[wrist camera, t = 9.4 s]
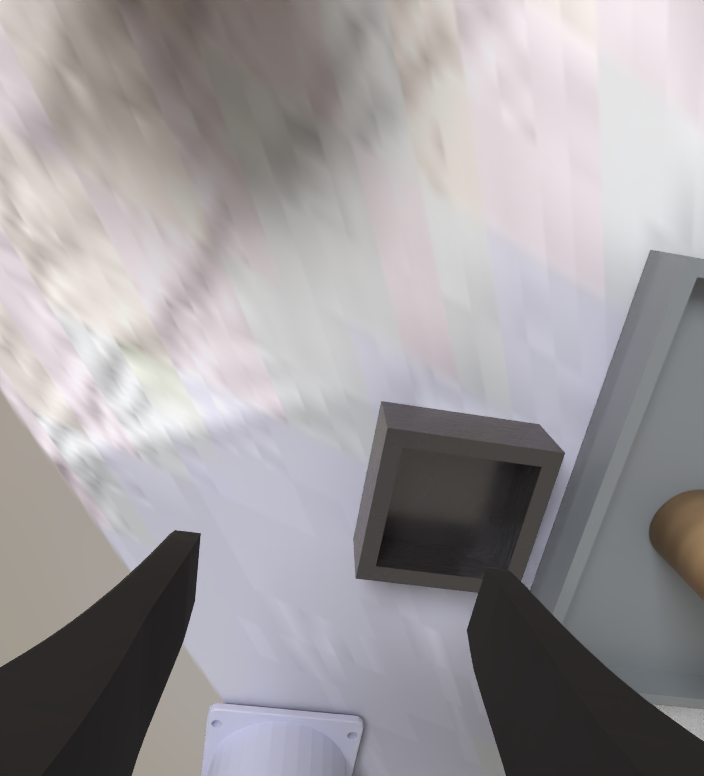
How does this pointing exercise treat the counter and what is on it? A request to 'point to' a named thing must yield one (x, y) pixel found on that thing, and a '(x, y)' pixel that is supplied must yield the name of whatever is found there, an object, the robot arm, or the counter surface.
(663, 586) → the slate tray
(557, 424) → the counter surface
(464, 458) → the pin holder
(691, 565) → the oak dowel
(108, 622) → the robot arm
